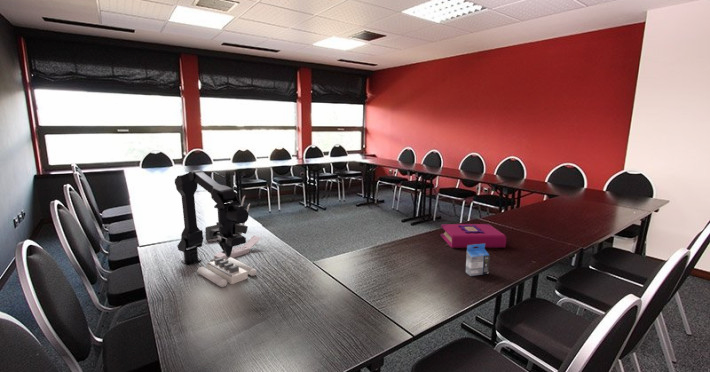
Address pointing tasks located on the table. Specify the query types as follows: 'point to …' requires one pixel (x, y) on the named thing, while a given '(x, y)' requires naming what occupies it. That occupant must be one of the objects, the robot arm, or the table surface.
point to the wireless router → (218, 227)
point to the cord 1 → (212, 276)
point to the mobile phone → (238, 249)
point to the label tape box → (477, 260)
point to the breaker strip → (227, 270)
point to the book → (473, 235)
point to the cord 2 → (243, 266)
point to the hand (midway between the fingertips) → (228, 256)
